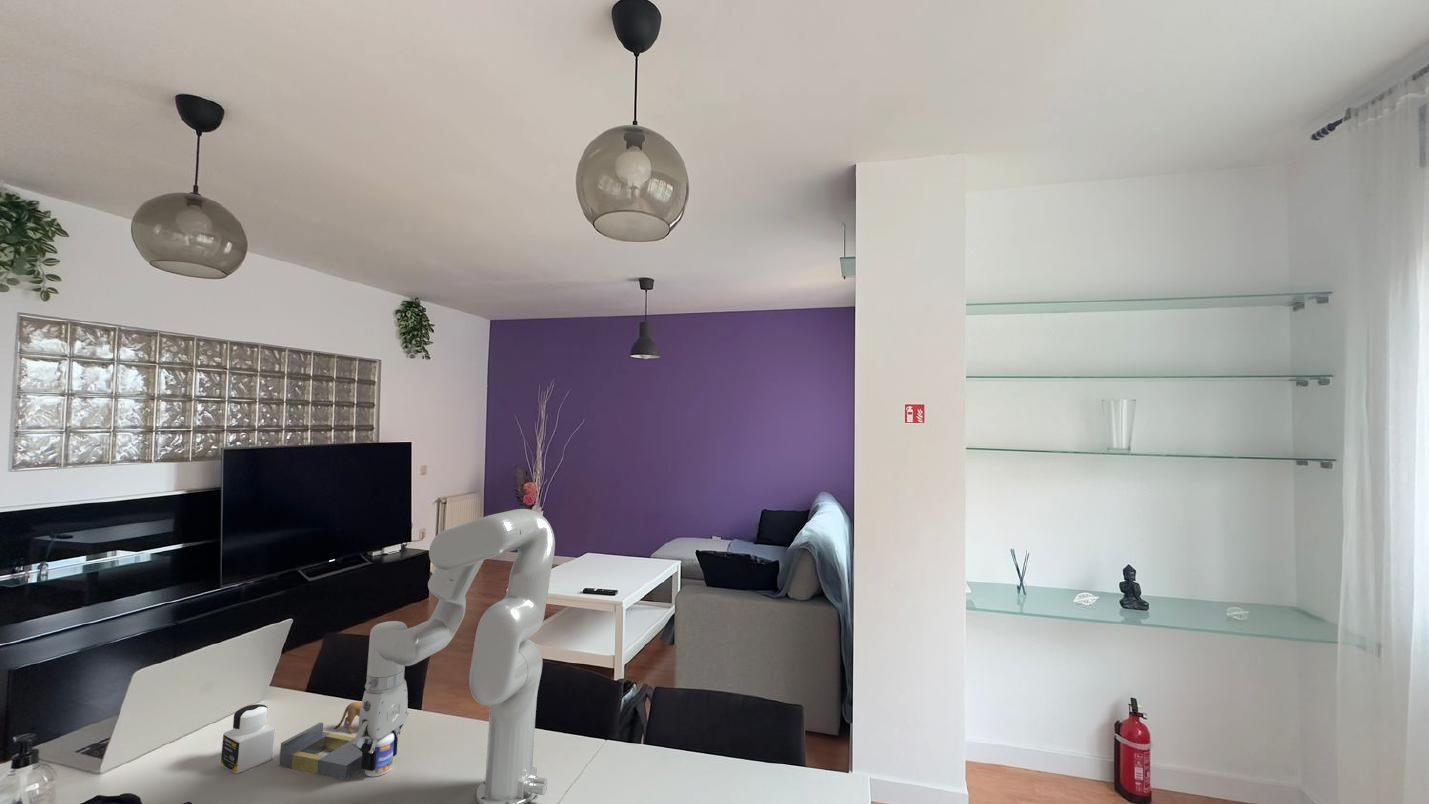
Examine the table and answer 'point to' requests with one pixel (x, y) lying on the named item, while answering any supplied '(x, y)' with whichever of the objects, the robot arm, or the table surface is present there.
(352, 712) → the lion figurine
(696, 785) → the table surface
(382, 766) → the pill bottle
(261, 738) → the medicine bottle
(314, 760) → the grey and tan frame
